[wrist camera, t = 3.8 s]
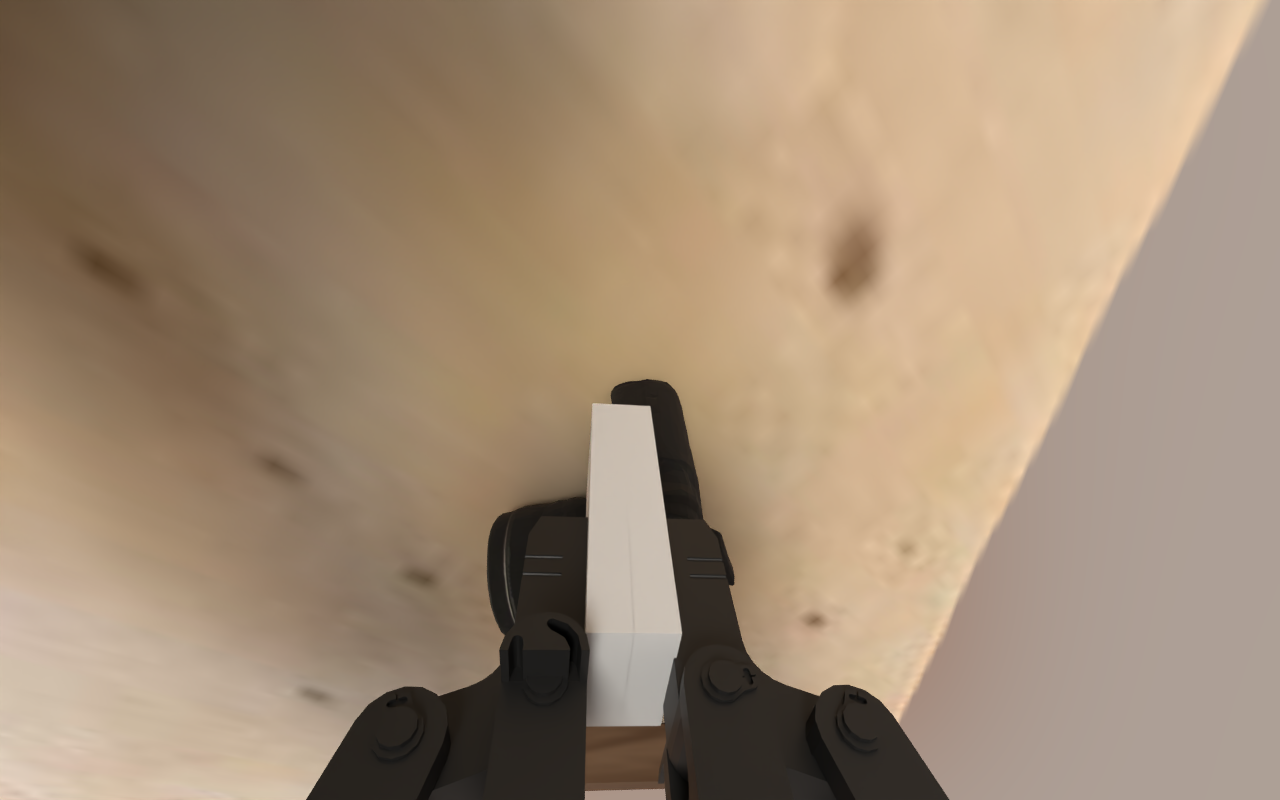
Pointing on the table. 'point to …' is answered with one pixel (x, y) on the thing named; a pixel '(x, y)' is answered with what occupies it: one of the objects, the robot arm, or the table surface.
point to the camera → (516, 526)
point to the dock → (623, 757)
